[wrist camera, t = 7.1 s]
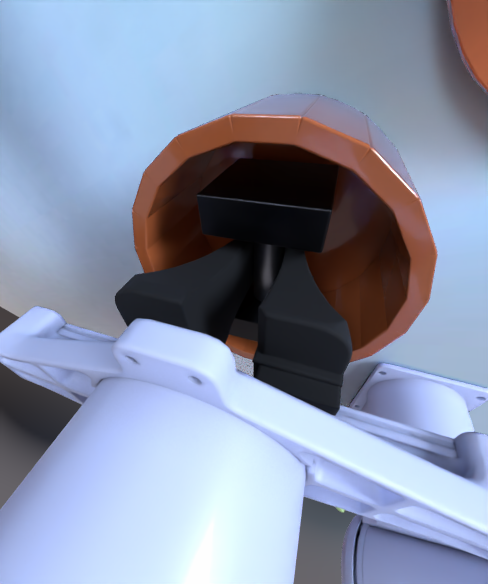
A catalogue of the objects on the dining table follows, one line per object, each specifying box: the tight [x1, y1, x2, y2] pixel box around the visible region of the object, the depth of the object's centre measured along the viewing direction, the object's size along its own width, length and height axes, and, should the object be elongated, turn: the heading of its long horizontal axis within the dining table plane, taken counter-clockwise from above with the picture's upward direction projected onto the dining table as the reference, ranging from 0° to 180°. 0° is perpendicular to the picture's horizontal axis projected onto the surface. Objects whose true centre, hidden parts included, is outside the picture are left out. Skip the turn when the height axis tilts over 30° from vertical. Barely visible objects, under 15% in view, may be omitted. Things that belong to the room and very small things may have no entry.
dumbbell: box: [197, 158, 339, 342], centre depth 12 cm, size 8×5×5 cm, turn 2°
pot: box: [132, 93, 437, 363], centre depth 13 cm, size 12×12×6 cm
